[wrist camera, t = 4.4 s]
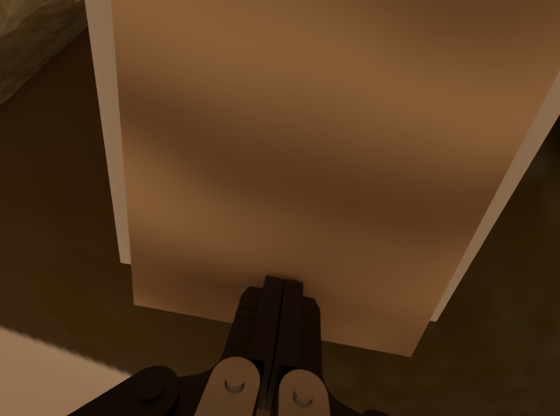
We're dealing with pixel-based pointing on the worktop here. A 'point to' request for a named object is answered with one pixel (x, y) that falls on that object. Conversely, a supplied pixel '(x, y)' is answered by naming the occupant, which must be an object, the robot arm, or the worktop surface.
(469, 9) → the honey oak plank
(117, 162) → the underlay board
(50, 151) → the worktop surface
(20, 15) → the decorative tile
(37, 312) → the worktop surface
